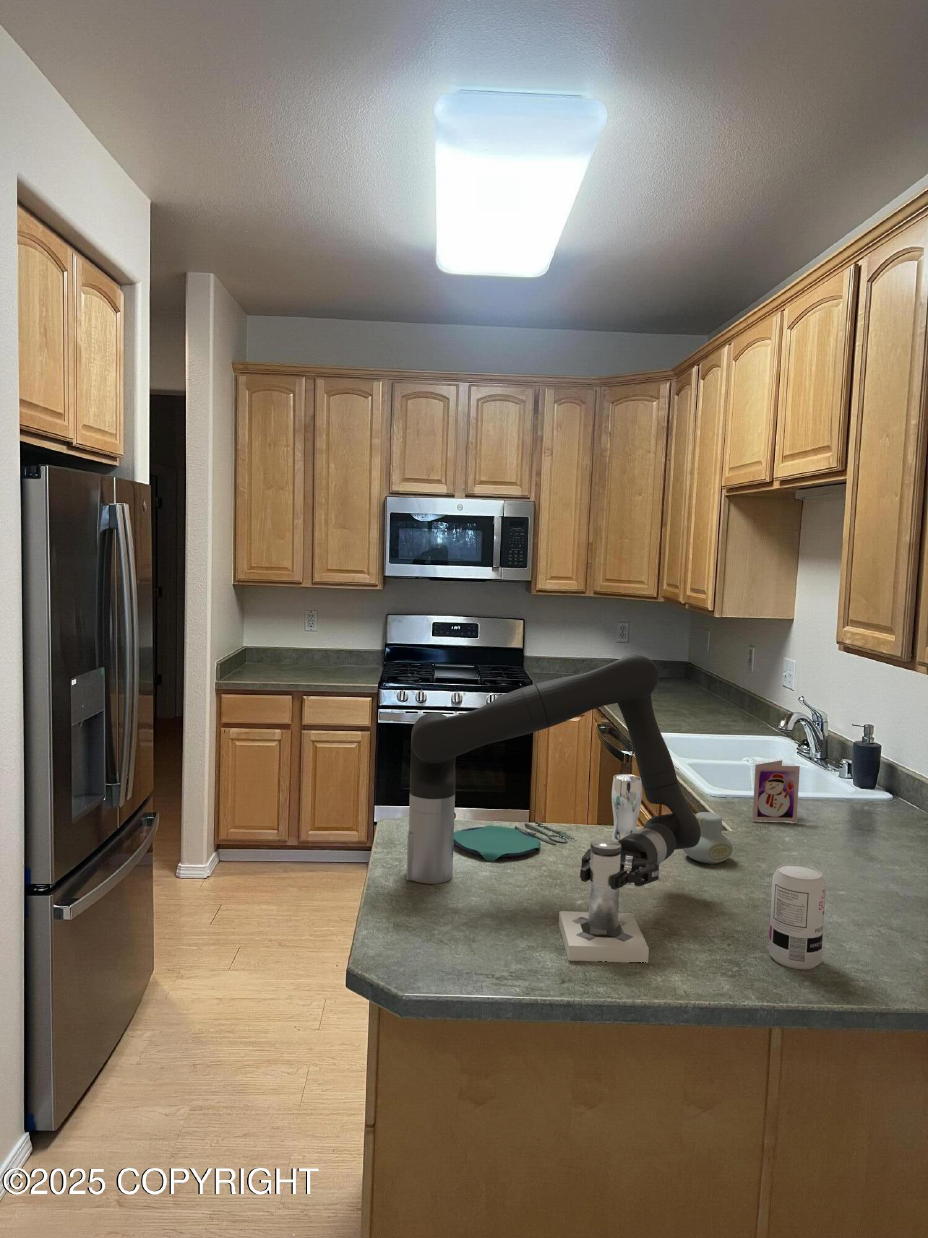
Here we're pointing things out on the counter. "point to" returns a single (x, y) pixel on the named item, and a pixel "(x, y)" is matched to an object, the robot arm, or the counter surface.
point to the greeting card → (776, 792)
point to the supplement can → (797, 916)
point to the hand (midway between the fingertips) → (598, 879)
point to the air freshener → (710, 840)
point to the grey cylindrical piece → (604, 884)
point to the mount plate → (602, 939)
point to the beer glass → (625, 804)
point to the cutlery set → (503, 840)
